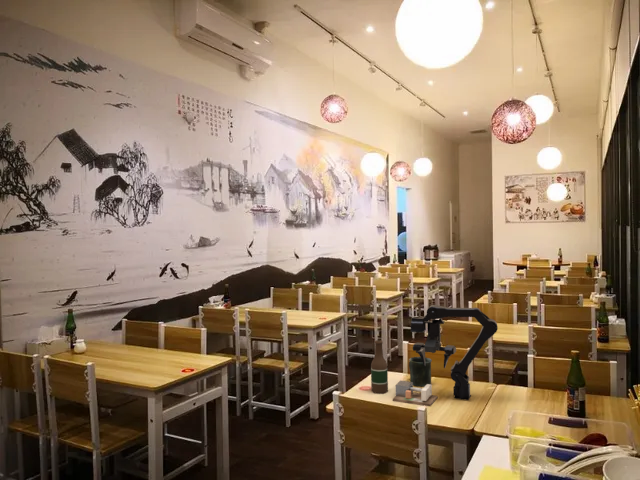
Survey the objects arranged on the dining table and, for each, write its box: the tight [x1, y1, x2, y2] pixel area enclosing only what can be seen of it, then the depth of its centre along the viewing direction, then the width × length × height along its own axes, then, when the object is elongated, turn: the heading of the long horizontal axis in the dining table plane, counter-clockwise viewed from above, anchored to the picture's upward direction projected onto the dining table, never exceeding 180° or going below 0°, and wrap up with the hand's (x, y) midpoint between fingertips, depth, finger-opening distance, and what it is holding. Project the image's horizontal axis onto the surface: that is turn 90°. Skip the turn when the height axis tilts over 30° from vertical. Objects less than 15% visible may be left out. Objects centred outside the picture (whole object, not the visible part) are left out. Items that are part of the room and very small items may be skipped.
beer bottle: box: [370, 339, 389, 395], centre depth 236 cm, size 8×8×24 cm
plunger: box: [410, 383, 433, 401], centre depth 224 cm, size 9×10×4 cm
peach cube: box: [406, 390, 411, 399], centre depth 223 cm, size 2×2×3 cm
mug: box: [408, 356, 432, 388], centre depth 248 cm, size 11×15×12 cm
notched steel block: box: [395, 380, 414, 397], centre depth 228 cm, size 6×7×5 cm
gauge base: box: [392, 391, 438, 407], centre depth 225 cm, size 17×12×1 cm
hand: (434, 367), depth 229 cm, fingers open, 9 cm apart
